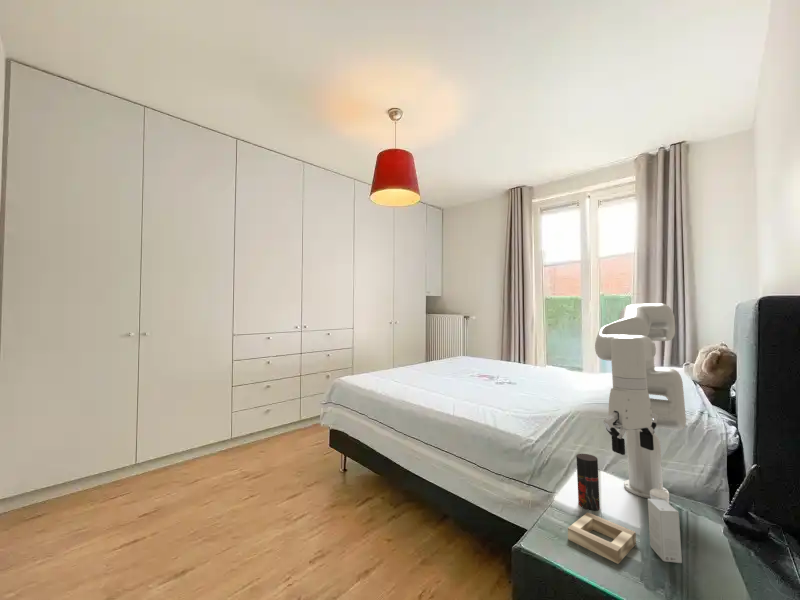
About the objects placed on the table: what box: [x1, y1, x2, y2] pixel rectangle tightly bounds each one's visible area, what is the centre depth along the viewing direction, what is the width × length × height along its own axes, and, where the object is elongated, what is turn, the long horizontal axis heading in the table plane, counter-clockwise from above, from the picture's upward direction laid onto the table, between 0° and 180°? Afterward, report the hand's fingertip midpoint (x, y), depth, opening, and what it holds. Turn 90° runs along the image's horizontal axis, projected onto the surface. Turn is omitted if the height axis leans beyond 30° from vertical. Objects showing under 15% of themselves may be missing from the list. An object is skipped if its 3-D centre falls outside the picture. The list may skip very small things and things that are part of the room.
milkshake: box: [650, 483, 670, 504], centre depth 99 cm, size 4×5×10 cm
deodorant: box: [575, 453, 601, 512], centre depth 108 cm, size 6×6×15 cm
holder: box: [567, 512, 637, 565], centre depth 90 cm, size 12×12×3 cm
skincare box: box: [647, 498, 683, 564], centre depth 85 cm, size 6×4×12 cm
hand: (633, 450), depth 88 cm, fingers open, 9 cm apart
